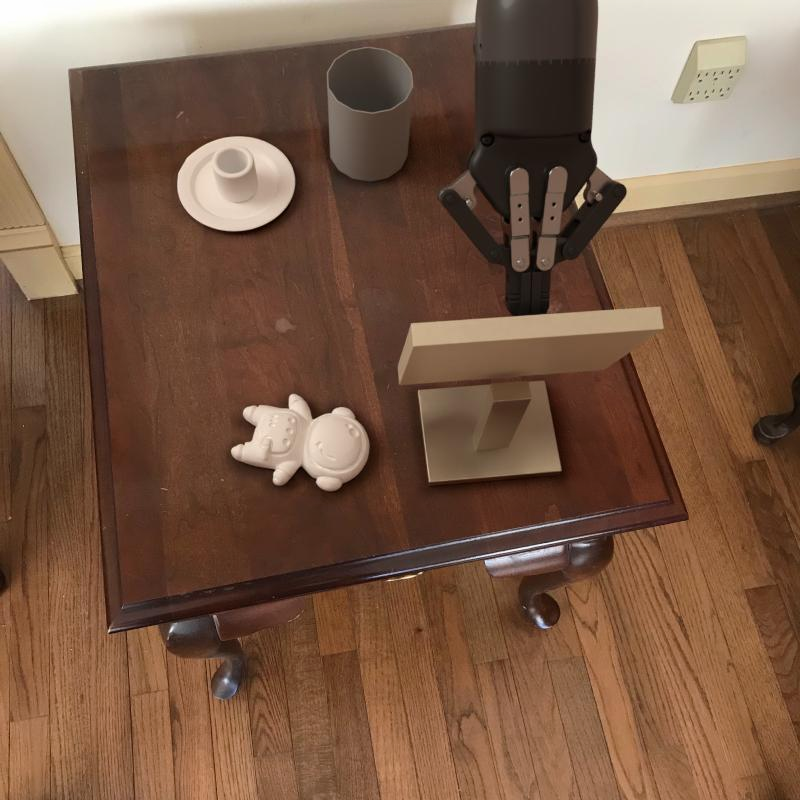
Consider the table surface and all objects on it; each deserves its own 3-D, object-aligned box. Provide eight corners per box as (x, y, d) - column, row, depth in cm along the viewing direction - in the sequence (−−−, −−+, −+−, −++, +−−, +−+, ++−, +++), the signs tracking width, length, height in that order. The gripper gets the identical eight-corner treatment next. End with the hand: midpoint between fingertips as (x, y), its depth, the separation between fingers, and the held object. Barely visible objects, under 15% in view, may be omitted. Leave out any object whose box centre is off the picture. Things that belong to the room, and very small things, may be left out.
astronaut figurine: (255, 386, 78) (252, 372, 75) (379, 420, 77) (380, 407, 74) (223, 472, 74) (217, 460, 71) (352, 508, 73) (352, 498, 71)
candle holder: (159, 168, 87) (150, 139, 83) (262, 125, 90) (258, 96, 86) (209, 253, 83) (202, 227, 79) (316, 205, 86) (314, 178, 82)
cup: (389, 191, 87) (393, 124, 78) (317, 165, 88) (312, 96, 79) (418, 133, 91) (425, 62, 81) (348, 109, 91) (348, 36, 82)
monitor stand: (416, 394, 78) (427, 333, 67) (542, 385, 79) (572, 323, 68) (428, 486, 74) (440, 437, 63) (559, 475, 76) (594, 425, 64)
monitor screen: (397, 364, 68) (410, 320, 55) (601, 349, 69) (660, 304, 56) (399, 385, 67) (413, 346, 54) (604, 370, 69) (664, 329, 56)
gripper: (438, 57, 48) (441, 342, 55) (660, 50, 49) (637, 330, 56) (422, 57, 55) (426, 310, 62) (617, 51, 56) (600, 301, 63)
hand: (526, 319), depth 59 cm, fingers closed
